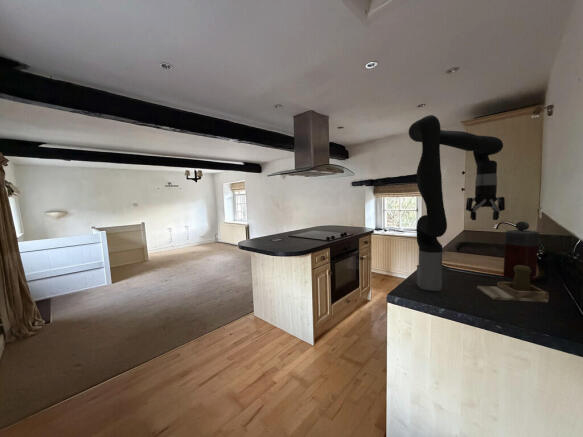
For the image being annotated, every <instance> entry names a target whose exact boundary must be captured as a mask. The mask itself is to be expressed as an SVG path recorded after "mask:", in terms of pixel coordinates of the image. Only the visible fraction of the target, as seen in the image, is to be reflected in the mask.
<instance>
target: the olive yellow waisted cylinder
mask: <svg viewBox="0 0 583 437" xmlns="http://www.w3.org/2000/svg"><path fill="white" fill-rule="evenodd" d="M514 272H515V276H514V279H512V280H513V281H512V282H513V284H512V289H514V290H516V291H531V286H530V284H531V281H530V278H529V274H531V269H530V267H528V266H524V265H516V266H515V267H514Z"/></svg>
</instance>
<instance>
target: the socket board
mask: <svg viewBox="0 0 583 437" xmlns="http://www.w3.org/2000/svg"><path fill="white" fill-rule="evenodd" d="M512 284H513V281H511V282H510V281H497V283H496V286H490V285H489V286H487V285H476V289H477V290H479V291H480V292H482V293H483V294H485V295H487V297H490V298H491V299H492V300H494V301H495V300H498V301H499V300H500V301H515V302H516V301H518V302H535V303H549V298H550V293H549V292H548V291H545V290H544V289H542V288H539V287H537V286H535V285H532V284H531V283H530V286H531V291H516V290H514V289H512Z"/></svg>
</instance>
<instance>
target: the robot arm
mask: <svg viewBox="0 0 583 437" xmlns="http://www.w3.org/2000/svg"><path fill="white" fill-rule="evenodd" d="M408 136H409V138H410V139H411V140H412V141H413V142H416V143H421V147H422V148H421V149H422V151H421V156H420V160H419V162H418V166H417V169H416V183H417V189H418V191H419V193H420V195H421V198H422V199H423V201H424V204H425V208H426V214H425V215H422V216H420V217H419V218H418V219H417V222H416V244H417V246H418V264H417V265H416V285H417V287H418V288H419V290H424V291H431V292H439V291H442V284H443V283H442V281H443V278H442V276H443V245H442V244H441V243H440V241H439V240H438V238H440V237H443V236H444V235H445V233H446V231H447V230H448V229H447V228H448V221H447V217H446V216H447V215H446V210H445V206H444V196H443V180H442V179H443V178H442V169H441V168H442V167H441V151H440V150H441V149H440V146H441V145H443V146H446V147H451V148H454V149H455V148H456V149H459V150H463V151H466V152H467V151H468V152H472V154H473V157H474V161H475V165H476V175H475V184H474V186H475V187H474V189H475V191H474V195H475V196H474V197H467V198H466V206H465V211H468V212H470V216H469V217H470V219H471V221H476V220H477V211H478V210H479V209H481V208H485V207H486V208H490V209H492V210H493V212H492V220H493V221H498V219H500V212H501V211H505V210H506V208H505V207H506V205H505V203H506V201H505V197H504V196H499V197H497V191H498V190H497V188H498V176H497V175H498V174H497V173H498V171H497V170H498V162H497V160H490V157H489V156H493V155H496V154H498V153H499V152H501V151H502V149H504V143H503V141H502V140H501V139H500V138H498V137H497V136H489V135H477V134H474V133H470V132H467V131H463V130H461V131H460V130H445V129H441V123H440V120H439V118H438V117H437V116H435V115H433V114H430V115H426V116H424V117H422V118H420V119H419V120H416V121H415V122H413V123H412V124H411V125H410V126H409V127H408ZM474 202H475V203H474ZM496 202H497V204H496ZM473 203H474V205H473Z"/></svg>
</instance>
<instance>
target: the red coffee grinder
mask: <svg viewBox="0 0 583 437" xmlns="http://www.w3.org/2000/svg"><path fill="white" fill-rule="evenodd" d="M529 226H530V224H529V223H528V222H527V221H524V220H523V221H518V222H517V223H515V227H516V229H511V230H507V231H505V237H504V254H503V255H504V257H503V277H504V278H508V279H512V280H514V276H515V272H514V267H515V266H516V265H524V266H528V267H530V269H531V274H529V278H530V282H531V281H534V280H535V279H534V278H533V277H534V276H536V277H537V268H538V265H537V264H538V252H539V250H538V249H539V238H540V237H539V236H540V235H539V231H537V230H528V229H529V228H530V227H529Z"/></svg>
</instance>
